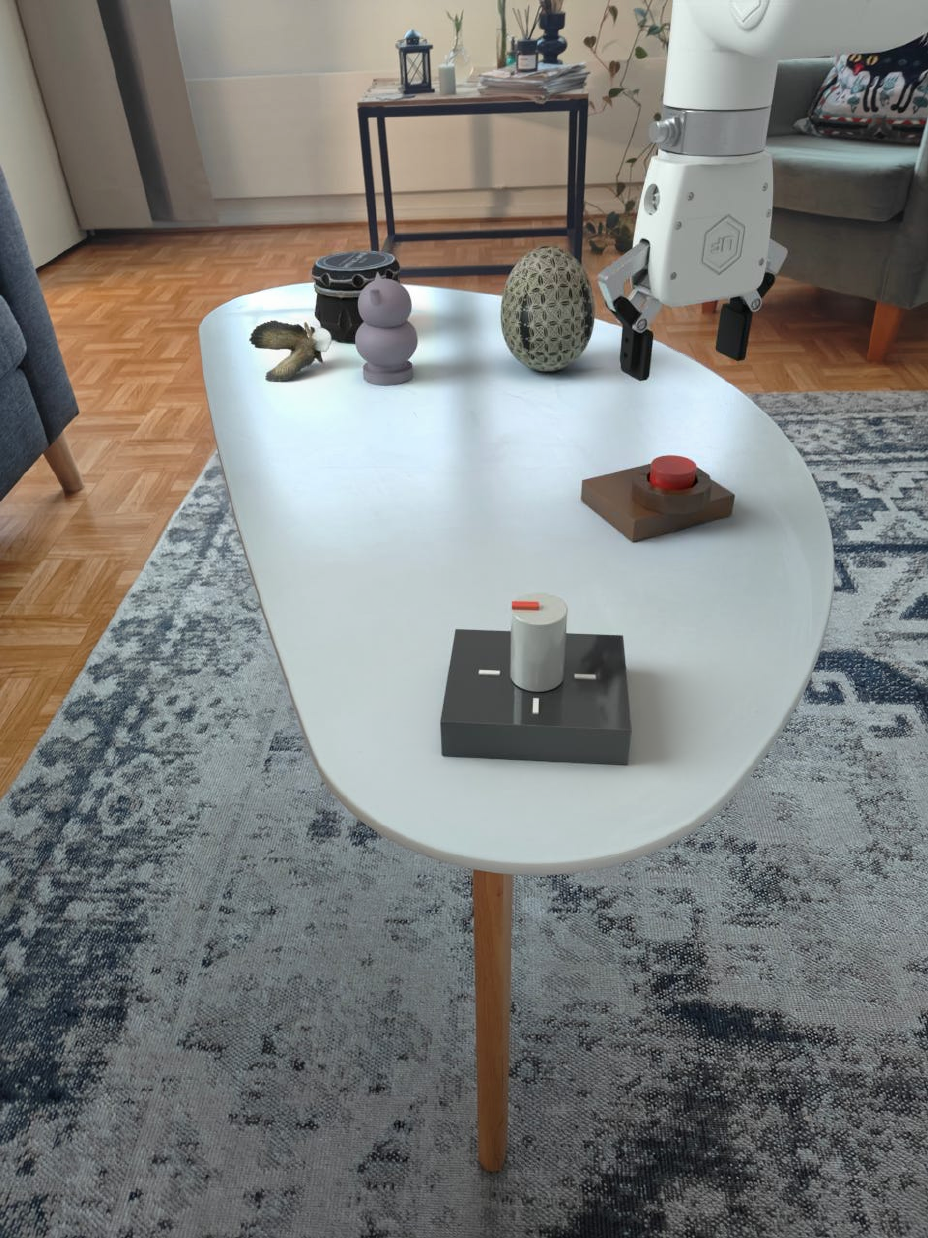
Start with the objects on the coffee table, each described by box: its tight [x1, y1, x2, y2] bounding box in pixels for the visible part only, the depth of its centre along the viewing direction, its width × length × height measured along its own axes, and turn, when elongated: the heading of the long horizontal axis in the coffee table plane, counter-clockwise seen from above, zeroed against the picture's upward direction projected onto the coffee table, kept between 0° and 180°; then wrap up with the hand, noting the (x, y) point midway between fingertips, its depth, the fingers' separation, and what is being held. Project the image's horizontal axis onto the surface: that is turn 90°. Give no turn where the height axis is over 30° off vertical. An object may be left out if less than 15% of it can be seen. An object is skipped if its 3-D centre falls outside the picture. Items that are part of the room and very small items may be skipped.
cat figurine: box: [354, 271, 419, 386], centre depth 112 cm, size 8×8×12 cm
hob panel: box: [439, 628, 633, 766], centre depth 61 cm, size 12×10×3 cm
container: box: [310, 250, 402, 344], centre depth 127 cm, size 13×13×10 cm
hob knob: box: [510, 592, 569, 692], centre depth 59 cm, size 4×4×6 cm
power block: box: [580, 463, 736, 543], centre depth 84 cm, size 11×10×4 cm
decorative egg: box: [500, 245, 596, 372], centre depth 112 cm, size 12×12×15 cm
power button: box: [649, 454, 698, 490], centre depth 81 cm, size 4×4×2 cm
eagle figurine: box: [248, 320, 332, 382], centre depth 116 cm, size 8×7×9 cm
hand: (682, 365), depth 75 cm, fingers open, 9 cm apart
